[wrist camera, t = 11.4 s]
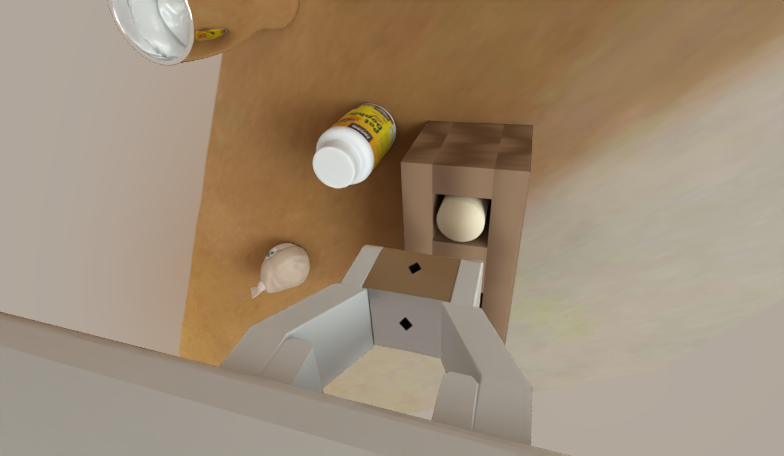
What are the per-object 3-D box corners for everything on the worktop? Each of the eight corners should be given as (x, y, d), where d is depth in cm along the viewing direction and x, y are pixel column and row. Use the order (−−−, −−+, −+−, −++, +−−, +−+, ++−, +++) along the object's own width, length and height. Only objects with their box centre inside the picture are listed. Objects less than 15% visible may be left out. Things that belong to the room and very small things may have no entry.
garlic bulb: (270, 232, 56) (236, 268, 50) (312, 237, 54) (282, 274, 48) (281, 269, 59) (251, 307, 53) (321, 275, 58) (294, 315, 51)
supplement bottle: (403, 110, 41) (369, 150, 33) (391, 158, 44) (358, 205, 36) (352, 93, 41) (306, 128, 33) (344, 142, 45) (301, 185, 37)
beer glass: (224, -25, 39) (84, -13, 27) (275, -69, 35) (140, -78, 23) (266, 46, 41) (155, 85, 29) (317, 12, 38) (215, 40, 26)
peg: (496, 158, 39) (486, 203, 32) (492, 194, 42) (482, 244, 34) (455, 155, 40) (436, 199, 33) (453, 190, 43) (436, 238, 36)
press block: (532, 125, 38) (530, 171, 30) (510, 286, 49) (504, 351, 41) (428, 120, 41) (400, 162, 33) (429, 274, 52) (408, 333, 44)
